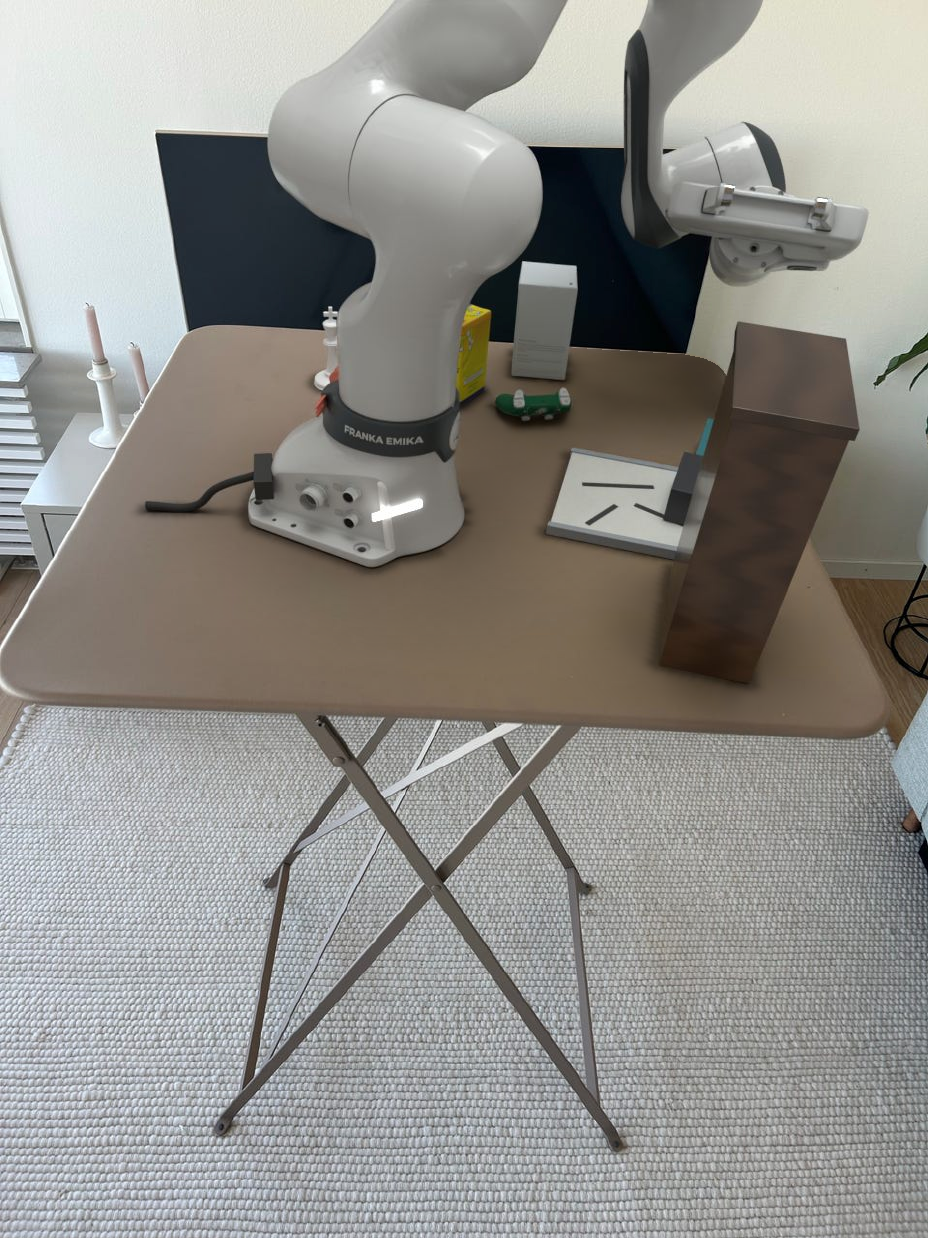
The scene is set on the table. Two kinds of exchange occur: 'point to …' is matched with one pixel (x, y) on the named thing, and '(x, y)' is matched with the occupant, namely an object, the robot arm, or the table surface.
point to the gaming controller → (534, 404)
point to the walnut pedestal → (757, 496)
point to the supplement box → (473, 353)
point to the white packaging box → (544, 320)
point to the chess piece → (331, 342)
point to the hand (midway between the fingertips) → (774, 198)
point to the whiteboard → (616, 504)
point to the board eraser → (686, 480)
